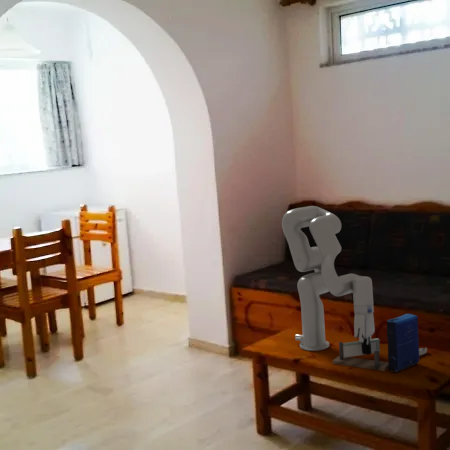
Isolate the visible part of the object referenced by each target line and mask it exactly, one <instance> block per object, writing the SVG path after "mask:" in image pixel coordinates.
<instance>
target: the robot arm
mask: <svg viewBox="0 0 450 450" xmlns="http://www.w3.org/2000/svg"><path fill="white" fill-rule="evenodd" d="M308 227H309V232H310V234H311V236H312V238H313V240H314V243H316V246H312V247H311V246H310V243H309V239H308V237H307V235H306V234H305V232H303V231H302V228H308ZM281 229H282V231H283V235H284V237H285V238H286V241H287V244H288V247H289V251H290V254H291V257H292V261H293V264H294V267H295V269H296V270H297V271H298V272H301V273H305V272H310V271H313V270H314V272H311V273H307V274H305V275H303V276H301V277H300V278H299V279H298V281H297V284H296V285H297V291H298V296H299V301H300V302H299V303H300V310H301V312H300V313H301V314H300V315H301V326H302V327H301V329H302V331H301V332H302V334H295V336H294V338H295V341H298V342H300V343H299V347H300V349H302V350H304V351H309V352H315V351H317V352H319V351H323V350H326V349H328V348H330V341H327V340H326V330H325V328H326V327H325V324H326V323H325V310H324V304H323V301H322V299H321V298H320V295H324V294H326V293H328V292H330V294H331V295H333V296H334V297H342V296H345V295H349V294H352V297H353V299H352V300H353V310H354V311H353V313H354V320H353V329H354V333H353V335H354V338H355V339H358V341H359V342H361V344H362V354H366V355H372V354H371V344H370V343H371V339H372V336H373V335H374V333H375V329H376V328H375V317H374V313H375V310H374V309H375V308H374V294H373V293H374V292H373V290H374V289H373V280H372V278H371V277H370V276H365V275H364V276H363V275H359V274H355V273H348V274H343V275H339V276H338V273H337V271H336V269H335V260H336V257H337V256H338V254H340V253H341V252H342V246H341V243H340V241H339V240H338V238H337V236H336V234H338V233H340V231H341V229H342V222H341V220H340V218H339V217H338V216H337V215H335V214H334V213H332V212H330V211H328V210H326V209H324V208H322V207H319V206H315V205H309V206H308V205H307V206H303V207H297V208H293V209H290V210H288V211H287V212H286V213H284V214H283V217H282V219H281Z"/></svg>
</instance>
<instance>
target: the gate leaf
mask: <svg viewBox="0 0 450 450" xmlns="http://www.w3.org/2000/svg"><path fill="white" fill-rule="evenodd" d="M370 344H371V354H370V355H372V354H374V351H379V354H380V353H381V352H380V351H381V349H380V339H379V338H377V337H376V338H371V343H370ZM363 355H365V356H366V355H367V354H362V344H361V342H359V340H356V341H350V342H343V357H344V358H345V357H351V358H353V357H357V356H363Z"/></svg>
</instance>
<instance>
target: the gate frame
mask: <svg viewBox="0 0 450 450" xmlns="http://www.w3.org/2000/svg"><path fill="white" fill-rule="evenodd" d="M343 343H344V342H342V341H339V342H338V347H339V348H338V350H339V355H338V356H337V357H336V358H334V359H332V364H334V365H340V366H348V367H355V368H362V369H369V370H374V371H383V372H386V371H387V370H388V361H380V353H379V351H374V353H373V354H374V359H373V360H372V359H366V358H365V359H364V358H357V357H345V358H344V357H343Z"/></svg>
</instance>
